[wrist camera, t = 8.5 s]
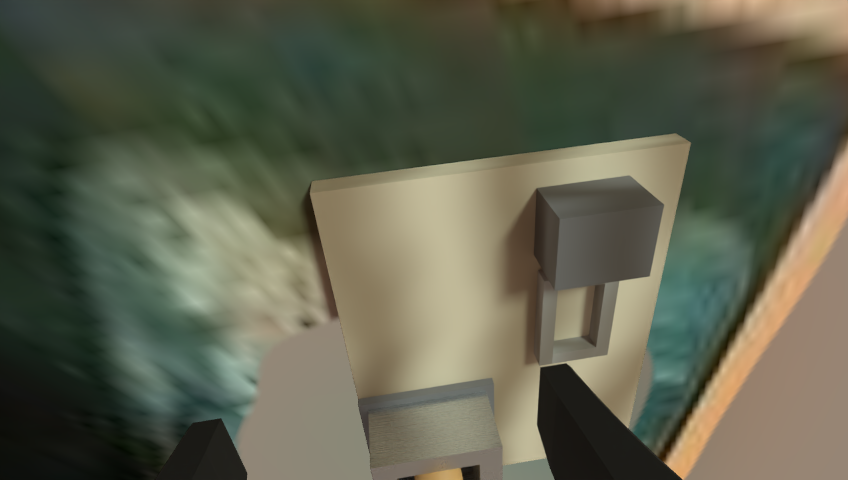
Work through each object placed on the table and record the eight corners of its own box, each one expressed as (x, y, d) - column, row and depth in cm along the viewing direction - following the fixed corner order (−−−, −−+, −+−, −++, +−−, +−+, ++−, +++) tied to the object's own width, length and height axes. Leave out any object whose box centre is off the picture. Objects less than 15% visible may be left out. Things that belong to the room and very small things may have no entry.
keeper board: (377, 469, 28) (381, 531, 25) (311, 181, 18) (304, 227, 15) (616, 429, 28) (646, 484, 26) (675, 133, 19) (734, 168, 16)
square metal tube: (383, 479, 26) (387, 538, 23) (368, 409, 23) (370, 468, 20) (487, 461, 26) (502, 517, 24) (486, 390, 23) (502, 446, 21)
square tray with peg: (376, 478, 26) (381, 574, 22) (358, 399, 23) (359, 495, 19) (493, 458, 27) (518, 549, 23) (491, 377, 23) (520, 468, 19)
